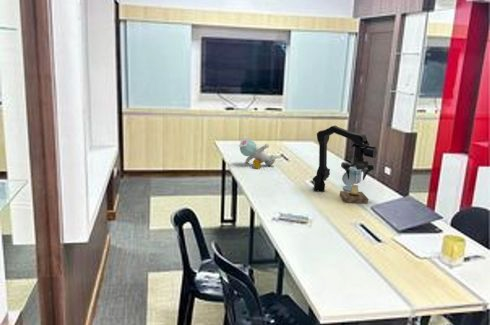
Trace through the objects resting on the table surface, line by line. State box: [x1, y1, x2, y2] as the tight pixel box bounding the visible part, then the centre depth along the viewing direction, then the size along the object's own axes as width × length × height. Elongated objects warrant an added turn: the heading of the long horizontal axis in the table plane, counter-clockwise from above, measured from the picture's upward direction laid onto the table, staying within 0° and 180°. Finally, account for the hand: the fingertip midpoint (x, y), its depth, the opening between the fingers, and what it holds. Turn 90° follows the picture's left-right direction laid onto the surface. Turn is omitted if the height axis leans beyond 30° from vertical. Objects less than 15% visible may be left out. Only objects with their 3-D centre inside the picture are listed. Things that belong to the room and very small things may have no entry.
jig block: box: [339, 190, 369, 204], centre depth 279 cm, size 14×14×3 cm
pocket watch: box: [341, 171, 356, 191], centre depth 298 cm, size 10×11×15 cm
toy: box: [238, 137, 277, 170], centre depth 342 cm, size 32×18×30 cm
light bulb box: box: [349, 167, 363, 184], centre depth 319 cm, size 11×7×11 cm, turn 149°
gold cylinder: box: [350, 184, 359, 196], centre depth 279 cm, size 4×4×9 cm
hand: (355, 179), depth 277 cm, fingers open, 9 cm apart
